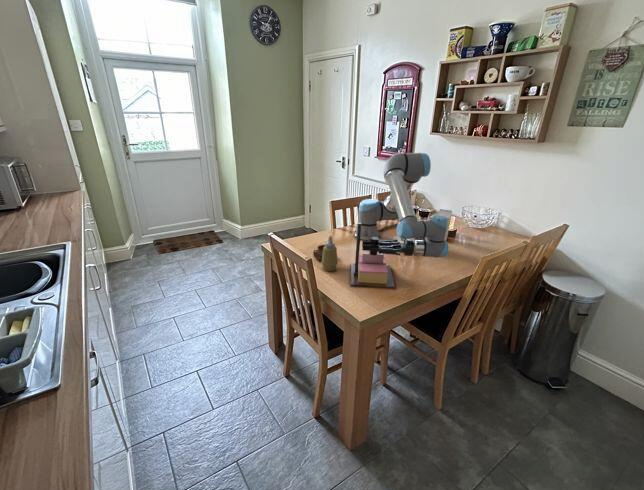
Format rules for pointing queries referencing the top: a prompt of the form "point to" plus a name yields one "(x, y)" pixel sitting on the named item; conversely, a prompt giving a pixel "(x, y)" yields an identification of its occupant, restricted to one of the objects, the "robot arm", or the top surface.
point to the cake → (372, 272)
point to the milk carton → (448, 215)
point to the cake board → (374, 285)
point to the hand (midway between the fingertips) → (362, 245)
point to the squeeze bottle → (329, 255)
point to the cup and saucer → (319, 252)
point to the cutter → (373, 254)
